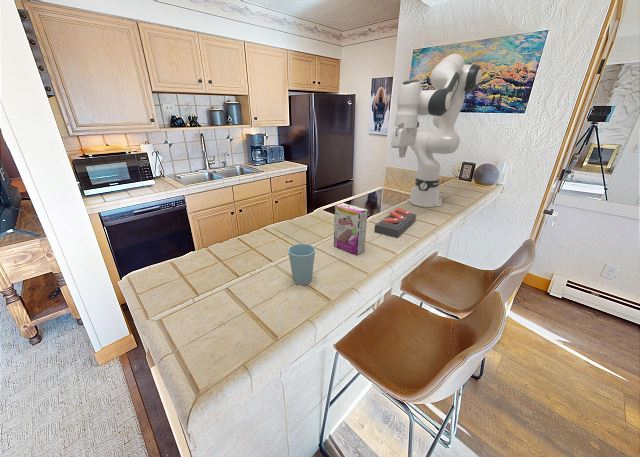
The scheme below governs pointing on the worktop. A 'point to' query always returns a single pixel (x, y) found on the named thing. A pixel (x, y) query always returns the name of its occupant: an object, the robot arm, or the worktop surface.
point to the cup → (302, 263)
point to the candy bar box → (350, 228)
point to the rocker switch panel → (395, 225)
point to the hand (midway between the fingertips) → (402, 157)
